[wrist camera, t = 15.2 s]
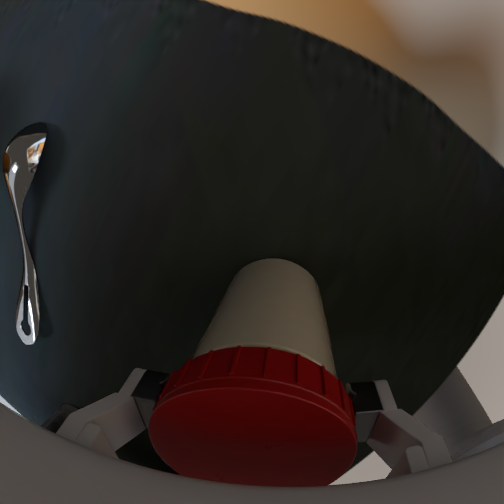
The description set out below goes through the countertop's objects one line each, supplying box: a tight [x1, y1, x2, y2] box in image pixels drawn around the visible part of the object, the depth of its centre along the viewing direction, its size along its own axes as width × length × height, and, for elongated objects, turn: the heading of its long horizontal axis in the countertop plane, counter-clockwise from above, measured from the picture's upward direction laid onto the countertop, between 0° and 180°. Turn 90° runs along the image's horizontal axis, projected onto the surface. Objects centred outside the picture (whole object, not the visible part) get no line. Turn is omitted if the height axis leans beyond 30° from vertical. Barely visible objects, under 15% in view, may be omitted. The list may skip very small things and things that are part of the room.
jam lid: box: [148, 345, 358, 487], centre depth 8 cm, size 7×7×2 cm
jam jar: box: [191, 259, 338, 380], centre depth 13 cm, size 6×6×11 cm
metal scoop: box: [3, 122, 48, 345], centre depth 18 cm, size 20×4×5 cm
